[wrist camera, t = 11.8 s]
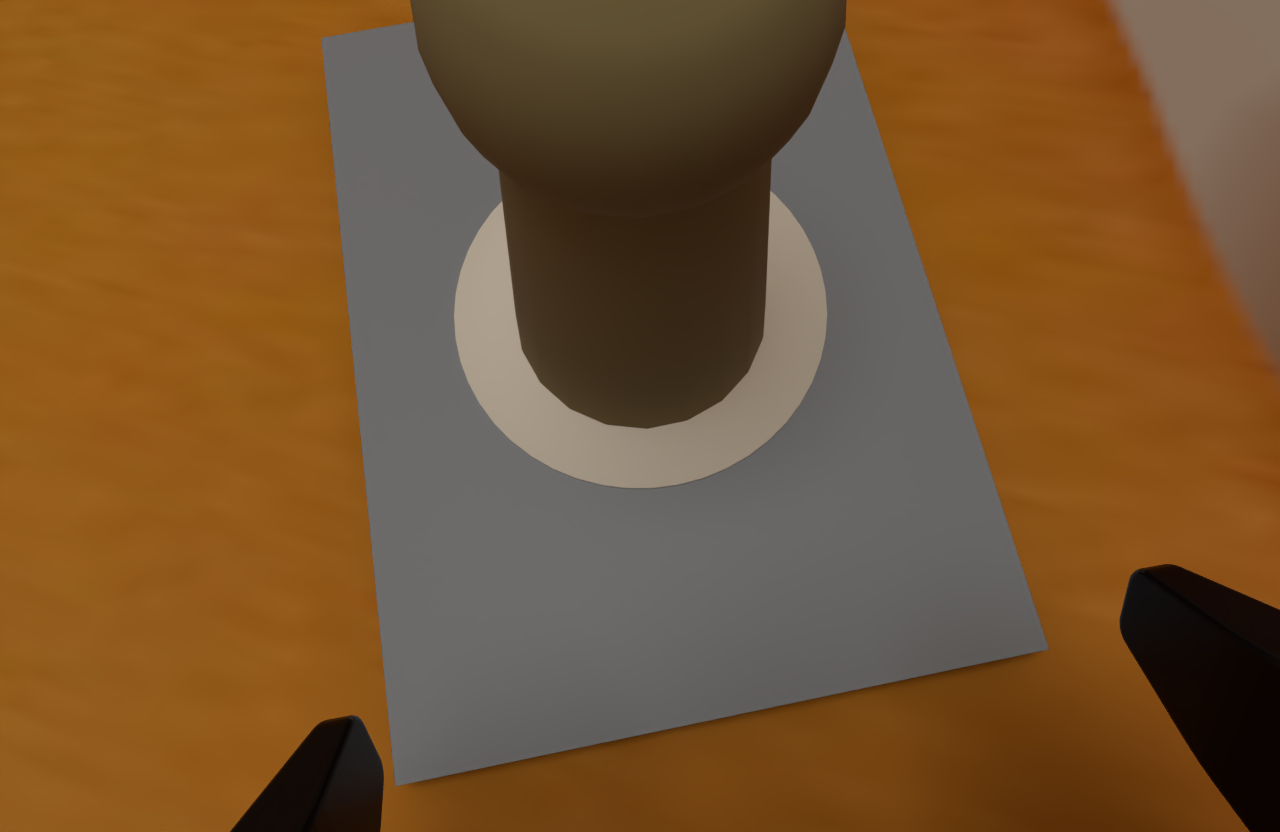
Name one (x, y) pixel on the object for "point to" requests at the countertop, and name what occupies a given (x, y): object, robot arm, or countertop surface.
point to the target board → (651, 459)
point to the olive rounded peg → (633, 178)
